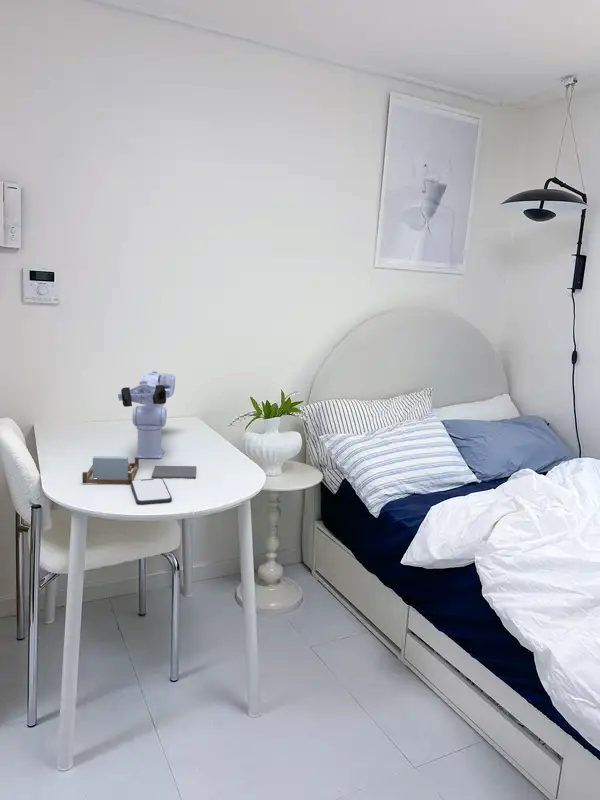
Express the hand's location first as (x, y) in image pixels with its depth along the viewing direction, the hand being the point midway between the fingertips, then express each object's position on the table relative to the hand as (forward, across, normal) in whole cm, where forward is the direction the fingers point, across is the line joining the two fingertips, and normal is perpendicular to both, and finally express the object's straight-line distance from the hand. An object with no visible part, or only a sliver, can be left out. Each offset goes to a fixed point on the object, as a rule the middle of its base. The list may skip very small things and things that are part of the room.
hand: (140, 401), depth 162 cm
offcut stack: (-3, -10, +20) cm, 23 cm away
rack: (+2, -10, +20) cm, 22 cm away
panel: (+4, -10, +20) cm, 23 cm away
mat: (-1, +7, +22) cm, 23 cm away
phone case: (+16, +3, +21) cm, 27 cm away
